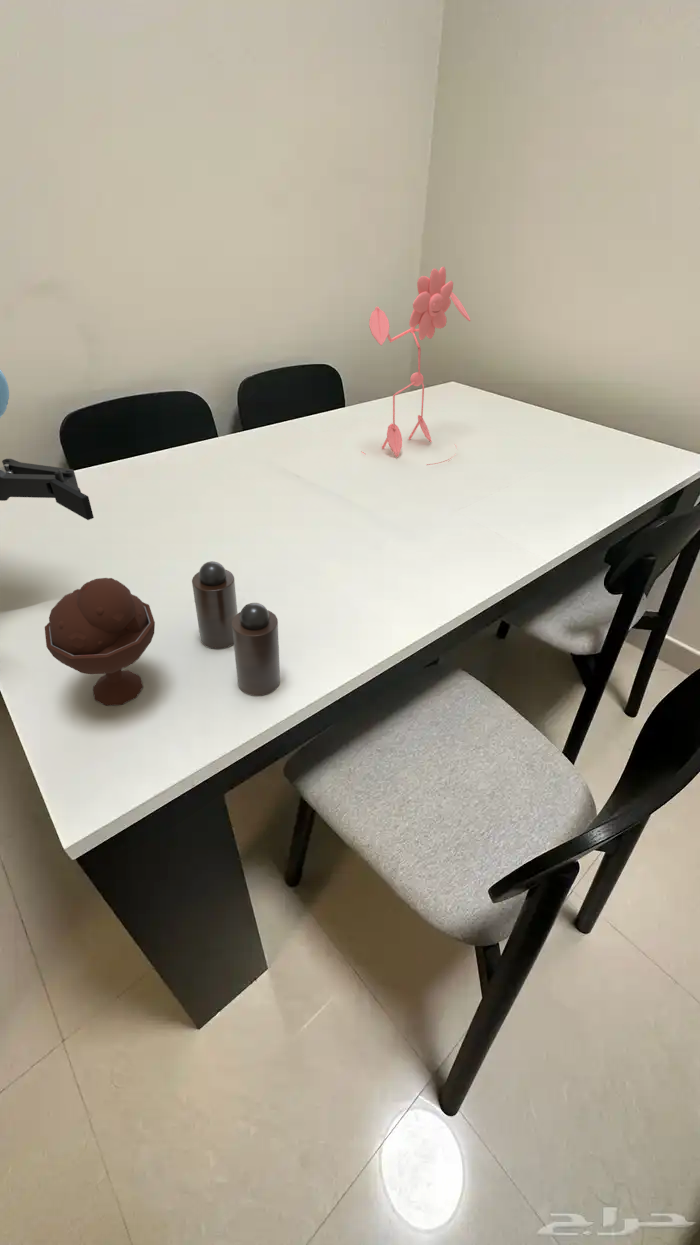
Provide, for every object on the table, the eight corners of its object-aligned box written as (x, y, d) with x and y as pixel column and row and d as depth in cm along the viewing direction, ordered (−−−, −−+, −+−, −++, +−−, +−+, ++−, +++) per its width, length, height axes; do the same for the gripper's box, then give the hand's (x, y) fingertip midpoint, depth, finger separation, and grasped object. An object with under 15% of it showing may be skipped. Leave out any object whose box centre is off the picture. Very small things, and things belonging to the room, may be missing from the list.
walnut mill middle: (211, 654, 73) (201, 579, 66) (193, 633, 76) (182, 560, 69) (246, 640, 75) (240, 566, 68) (228, 620, 78) (220, 548, 71)
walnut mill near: (250, 702, 66) (244, 625, 60) (230, 677, 69) (221, 601, 63) (288, 684, 69) (285, 609, 62) (266, 661, 72) (262, 587, 65)
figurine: (352, 456, 125) (361, 266, 103) (428, 430, 139) (450, 259, 118) (405, 479, 116) (428, 278, 95) (481, 449, 131) (515, 269, 109)
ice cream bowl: (156, 648, 73) (134, 544, 64) (174, 708, 65) (152, 599, 56) (64, 670, 69) (27, 563, 60) (73, 736, 61) (31, 625, 52)
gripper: (43, 470, 81) (136, 520, 71) (-167, 537, 65) (-84, 613, 56) (26, 416, 77) (124, 461, 67) (-204, 474, 61) (-120, 545, 51)
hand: (30, 530), depth 61 cm, fingers open, 13 cm apart
